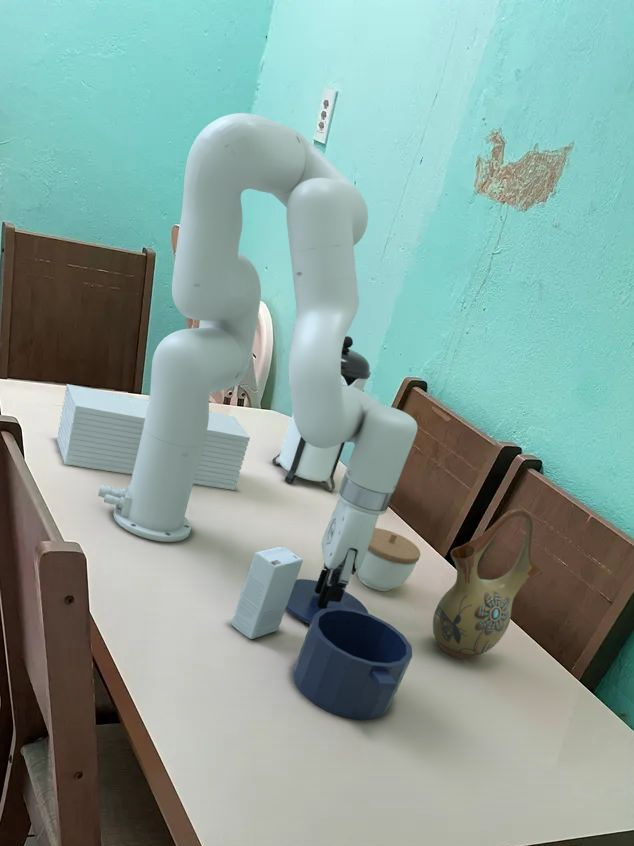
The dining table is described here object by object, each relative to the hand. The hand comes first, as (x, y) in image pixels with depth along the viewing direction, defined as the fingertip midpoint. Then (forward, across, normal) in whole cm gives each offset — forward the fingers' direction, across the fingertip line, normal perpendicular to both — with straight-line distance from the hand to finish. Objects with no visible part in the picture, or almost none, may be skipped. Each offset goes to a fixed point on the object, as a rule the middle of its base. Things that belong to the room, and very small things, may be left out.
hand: (325, 600), depth 134 cm
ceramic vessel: (+2, +3, +22) cm, 22 cm away
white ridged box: (+2, -40, -31) cm, 51 cm away
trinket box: (+2, -15, +11) cm, 19 cm away
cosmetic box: (+2, +11, -11) cm, 16 cm away
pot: (+2, +21, +1) cm, 21 cm away
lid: (+1, 0, 0) cm, 1 cm away
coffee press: (+2, -59, 0) cm, 59 cm away
